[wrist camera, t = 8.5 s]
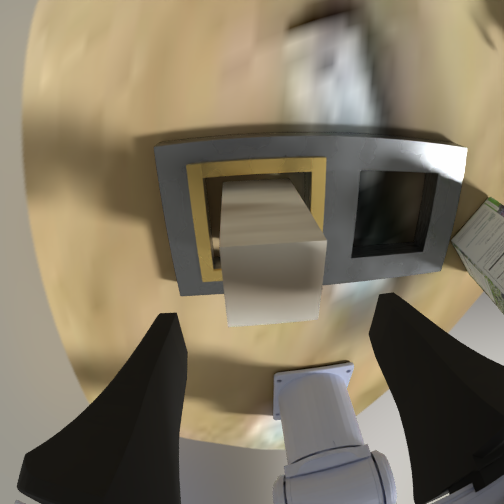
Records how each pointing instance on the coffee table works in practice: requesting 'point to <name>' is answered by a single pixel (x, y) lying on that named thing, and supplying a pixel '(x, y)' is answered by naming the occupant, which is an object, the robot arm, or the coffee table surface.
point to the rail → (310, 198)
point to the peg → (269, 254)
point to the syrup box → (484, 249)
